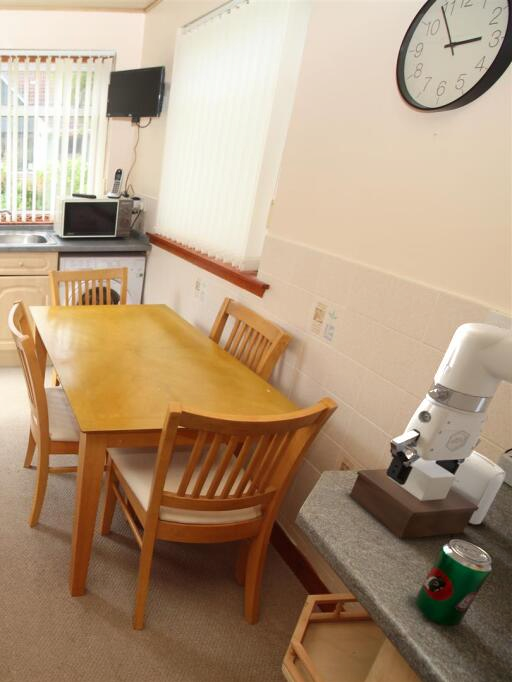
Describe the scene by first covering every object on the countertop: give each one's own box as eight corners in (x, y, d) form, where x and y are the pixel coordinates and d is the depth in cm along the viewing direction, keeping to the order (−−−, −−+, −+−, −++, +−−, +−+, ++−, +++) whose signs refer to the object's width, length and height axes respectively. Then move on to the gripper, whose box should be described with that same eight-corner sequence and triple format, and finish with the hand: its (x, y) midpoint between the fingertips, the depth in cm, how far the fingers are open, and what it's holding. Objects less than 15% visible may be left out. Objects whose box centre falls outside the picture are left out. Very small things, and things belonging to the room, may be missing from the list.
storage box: (405, 491, 95) (417, 466, 93) (464, 533, 85) (479, 507, 82) (347, 495, 93) (357, 470, 91) (400, 539, 83) (413, 512, 80)
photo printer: (411, 490, 96) (436, 438, 91) (427, 487, 97) (452, 435, 92) (469, 527, 86) (499, 471, 82) (486, 523, 87) (517, 468, 83)
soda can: (454, 636, 66) (492, 572, 61) (409, 610, 70) (442, 548, 65) (461, 616, 69) (498, 554, 64) (418, 592, 73) (449, 531, 68)
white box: (410, 475, 90) (420, 453, 88) (444, 499, 84) (456, 476, 82) (388, 477, 89) (397, 455, 87) (421, 501, 83) (432, 477, 81)
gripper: (436, 409, 75) (395, 495, 81) (526, 406, 77) (479, 489, 84) (394, 386, 82) (359, 467, 88) (477, 384, 84) (437, 463, 91)
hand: (417, 478), depth 86 cm, fingers open, 9 cm apart
